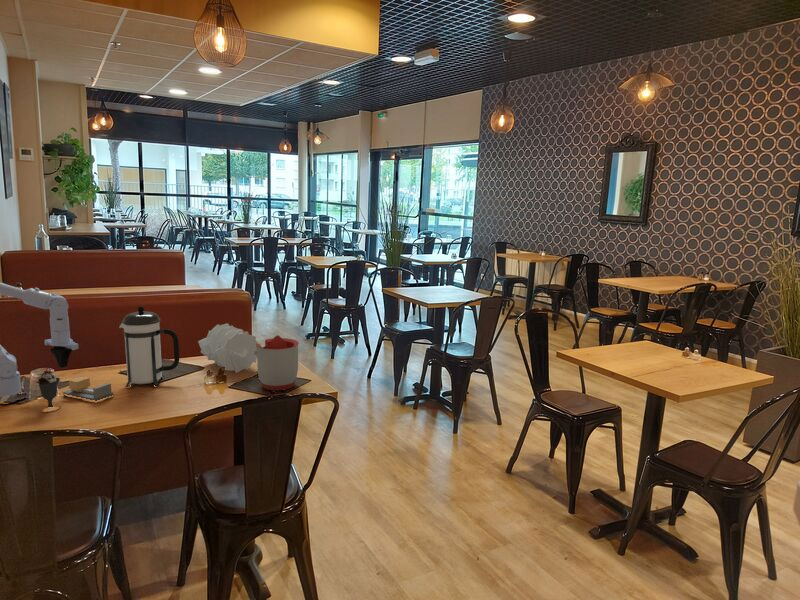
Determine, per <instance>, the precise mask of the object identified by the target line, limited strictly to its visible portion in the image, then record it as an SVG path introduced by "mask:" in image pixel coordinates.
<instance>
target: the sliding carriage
mask: <svg viewBox="0 0 800 600" xmlns="http://www.w3.org/2000/svg"><path fill="white" fill-rule="evenodd" d="M90 379H91V378H90V377H86V376H78V377H76V378H72V379H69V380H68V388H69V389H68V390H71V389H72V391H76V392H82V389H83V388H86V389H88V388H90V387H91V383H90V382H91V381H90Z"/></svg>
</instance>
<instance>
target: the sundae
mask: <svg viewBox="0 0 800 600" xmlns="http://www.w3.org/2000/svg"><path fill="white" fill-rule="evenodd" d="M48 369H49V371H48ZM60 381H61V378H60V377H57V376H56V375H55V374H54V373H53V372H52V371H51V368H50V364H47V368H46V370H44V371H43V373H42V374H41V375H40V378H38V379H37V381H35V383H36V384H38V387H39V390H40V393H41V397H42V398H43V399H44V400H47V407H53V406H54V405H53V400H54V399H55V398H56V397H57V393H58V383H59V382H60Z"/></svg>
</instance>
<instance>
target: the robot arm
mask: <svg viewBox="0 0 800 600" xmlns="http://www.w3.org/2000/svg"><path fill="white" fill-rule="evenodd" d="M0 295H3V296H7V297H12V298H16V299H19V300H22V302H23V304H25V305H28V306H31V307H35V308H39V309H43V310H49V327H50V336H51V337H50V338H48V339H44V346H52V348H50V352H51V353H52V354H53V356H54V357H55V359H56V360H55V361H56V363H57V364H58V367H59V368H62V369H63V368H66V367H68V364H69V359H70V356H71V354H72V352H73V351H75V350H78V349H79V343H77V342H75V341H74V340H73V339H72V338H71V331H70V319H69V315H68V314H69V312H68V310H69V303H68V301H67V299H66V298H65V297H64V296H62V295H60V294H55V292H51V293H50V292H49V293H48V292H45V291H42V290H40V288H38V287H34V288H33V287H30V288H27V289H22V288H19V287H16V286H13V285H9V284H7V283H4V282H0ZM17 361H18V360H17V358H16V357H15V355H13V354H11V353H9V352H8V351H7V350H6V349H5V348H4V347H3V346H2V345H1V344H0V397H3V396H6V395H15V394H17V393H19V392H21V393H22V386H21V385H22V384H21V383H22V382H21V375H20V371H18V365H17Z"/></svg>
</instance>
